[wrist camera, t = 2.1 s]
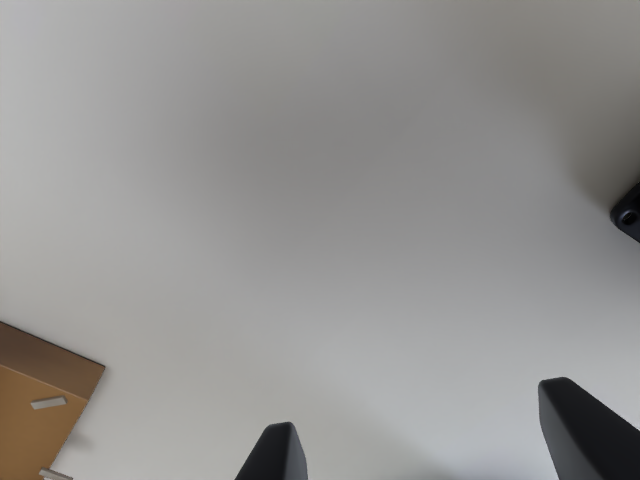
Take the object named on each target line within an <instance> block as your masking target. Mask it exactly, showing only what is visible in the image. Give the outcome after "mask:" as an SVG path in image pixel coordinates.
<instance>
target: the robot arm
mask: <svg viewBox="0 0 640 480" xmlns="http://www.w3.org/2000/svg"><path fill="white" fill-rule="evenodd" d="M630 212H631V215H630V217H628V218H627V219H625V220H622V218H623V217H624V215H625V214H627V213H630ZM610 219H611V221H612V222H613V224H614V225H615V226H616V227H617V228H618V229H620V230H621V231H623V232H624V233H626V234H627V235H629V236H630V237H632V238H633V239H635V240H636V241H638V242H639V243H640V182H639V183H638V184H637V185H636V186H635V187H634V188H633V189H632V190H631V191H630V192H629V193H628V194H627V195H626V196H625V197H624V198H623V199H622V200H621V201H620V202H619V203H618V204H617V205H616V206H615V207H614V208H613V210H612V211H611V214H610ZM538 396H539V417H540V424H541V428H542V432H543V435H544V438H545V441H546V443H547V446H548V449H549V452H550V455H551V458H552V460H553V463H554V466H555V469H556V472H557V475H558V478H559V480H640V431H639V430H638V429H636V428H635V427H634V426H632V425H631V424H630V423H628V422H627V421H626V420H624V419H623V418H622V417H620V416H619V415H617V414H616V413H615V412H613V411H612V410H611V409H609V408H608V407H607V406H605V405H604V404H603V403H601V402H600V401H599V400H597V399H596V398H595V397H593V396H592V395H591V394H589V393H588V392H587V391H585V390H584V389H583V388H581V387H580V386H579V385H577V384H576V383H575V382H573V381H572V380H570V379H569V378H566V377H559V378H553V379H547V380H542V381H541V382H540V383H539V386H538ZM235 480H308V474H307V463H306V458H305V454H304V451H303V449H302V446H301V443H300V440H299V437H298V434H297V431H296V429H295V426H294V425H293V423H291V422H284V423H277V424H271V425H269V426H267V427H266V428H265V430H264V431H263V433H262V435H261V436H260V438H259V440H258V441H257V443H256V445H255V446H254V448H253V450H252V451H251V453H250V455H249V456H248V458H247V460H246V461H245V463H244V465H243V467H242V468H241V470H240V472H239V473H238V475H237V477H236V478H235Z"/></svg>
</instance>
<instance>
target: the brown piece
mask: <svg viewBox="0 0 640 480" xmlns="http://www.w3.org/2000/svg"><path fill="white" fill-rule="evenodd" d="M104 369H105V367H103V366H101V365H99V364H96V363H94V362H92V361H89V360H87V359H85V358H82V357H80V356H78V355H75V354H73V353H71V352H68V351H66V350H64V349H61V348H59V347H57V346H54V345H52V344H50V343H47V342H45V341H43V340H40V339H38V338H36V337H33V336H31V335H29V334H26V333H24V332H22V331H19V330H17V329H15V328H13V327H10V326H8V325H6V324H3V323H1V322H0V480H43V479H44V477H48V478H50V479H53V480H73V478H72V477H69V476H66V475H64V474H61V473H58V472H55V471H53V470H50V469H49V468H50V467H51V465H52V463H53V462H54V460H55V458H56V456H57V455H58V453H59V451H60V450H61V448H62V446H63V444H64V443H65V441H66V439H67V438H68V436H69V434H70V432H71V431H72V429H73V427H74V426H75V424H76V422H77V420H78V419H79V417H80V415H81V414H82V412H83V410H84V408H85V407H86V405H87V403H88V402H89V400H90V398H91V396H92V394H93V392H94V390H95V388H96V386H97V384H98V381H99V379H100V377H101V375H102V373H103V371H104Z"/></svg>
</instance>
